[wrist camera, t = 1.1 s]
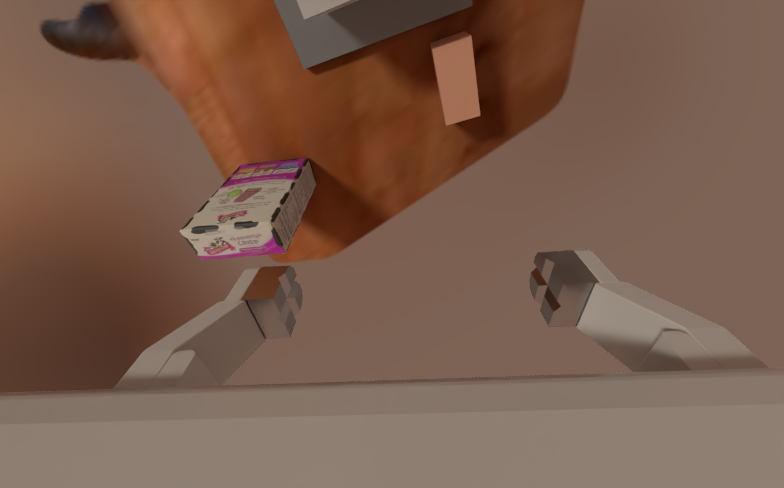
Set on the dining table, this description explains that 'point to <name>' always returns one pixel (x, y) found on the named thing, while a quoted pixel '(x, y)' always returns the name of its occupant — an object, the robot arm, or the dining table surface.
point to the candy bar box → (253, 211)
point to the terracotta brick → (456, 77)
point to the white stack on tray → (354, 23)
